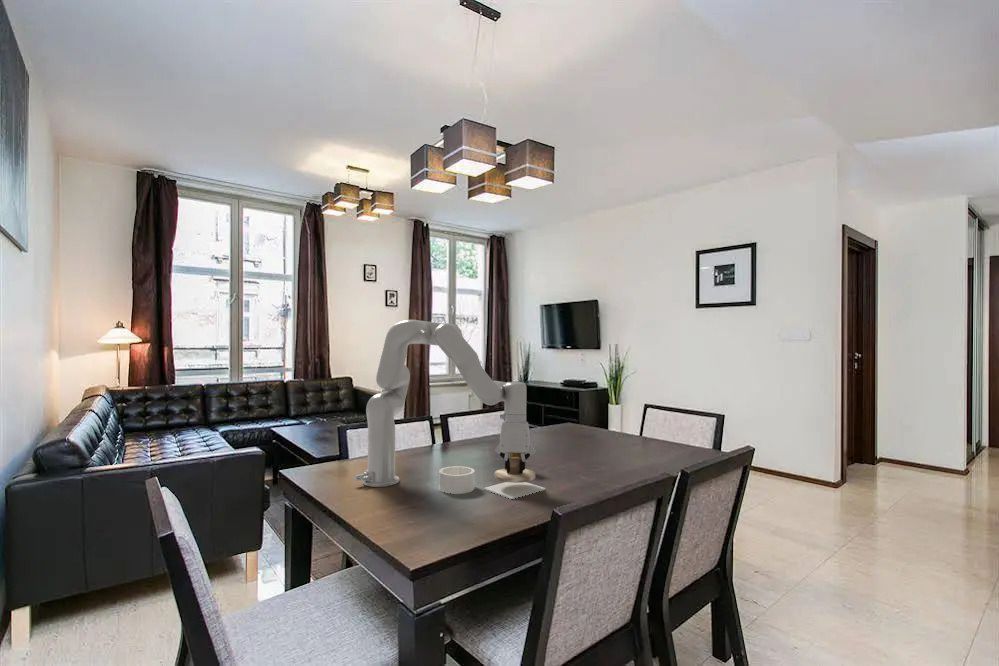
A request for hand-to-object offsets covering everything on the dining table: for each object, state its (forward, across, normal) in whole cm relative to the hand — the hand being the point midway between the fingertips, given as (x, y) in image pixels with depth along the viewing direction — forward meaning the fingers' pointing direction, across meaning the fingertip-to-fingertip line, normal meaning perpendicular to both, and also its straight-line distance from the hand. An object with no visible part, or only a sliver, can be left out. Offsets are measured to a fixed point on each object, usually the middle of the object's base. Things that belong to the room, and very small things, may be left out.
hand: (514, 471), depth 171 cm
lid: (+2, 0, 0) cm, 2 cm away
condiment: (+6, -1, +23) cm, 24 cm away
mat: (+6, 0, 0) cm, 6 cm away
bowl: (+6, -20, -2) cm, 21 cm away
